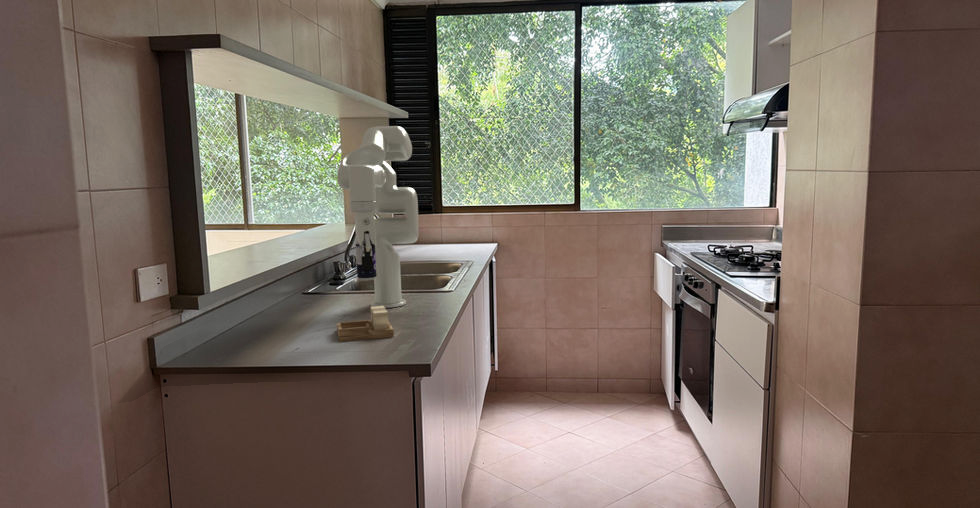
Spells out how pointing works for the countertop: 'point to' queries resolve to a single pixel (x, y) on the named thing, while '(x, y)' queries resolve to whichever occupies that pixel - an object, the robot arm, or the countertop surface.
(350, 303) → the countertop surface
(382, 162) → the robot arm
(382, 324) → the wing block
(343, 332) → the jig
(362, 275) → the beverage can
